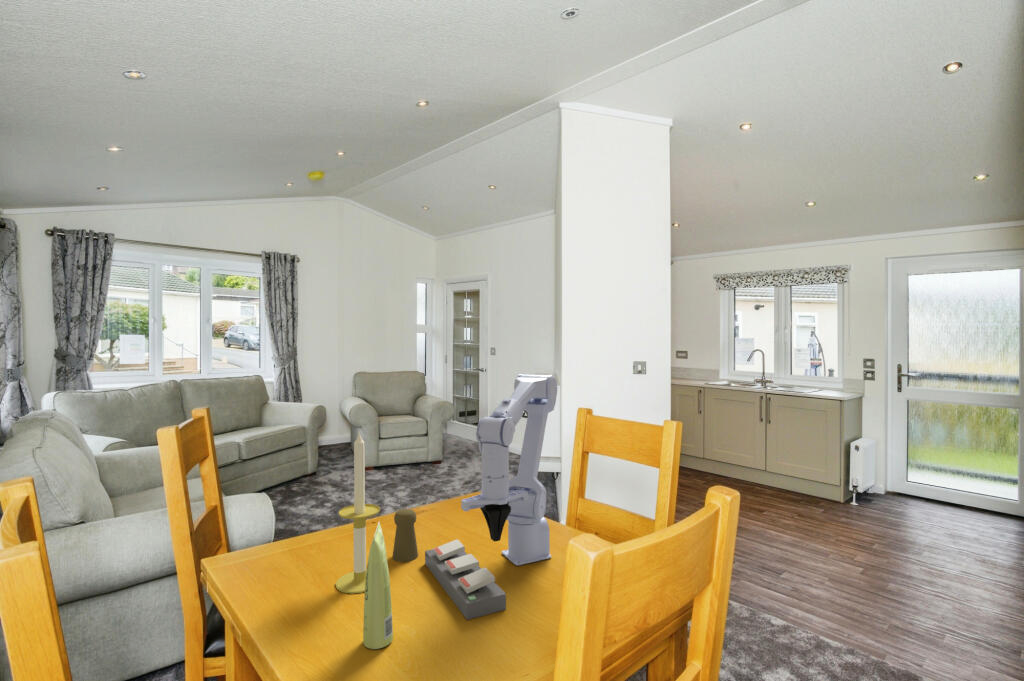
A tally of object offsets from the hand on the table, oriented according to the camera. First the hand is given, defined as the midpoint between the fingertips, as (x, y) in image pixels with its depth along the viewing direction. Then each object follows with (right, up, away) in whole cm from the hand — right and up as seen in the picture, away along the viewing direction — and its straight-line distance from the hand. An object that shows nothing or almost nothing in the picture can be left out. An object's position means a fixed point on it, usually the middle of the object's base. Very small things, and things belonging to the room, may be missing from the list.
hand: (495, 539), depth 106 cm
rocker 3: (-4, -6, -6) cm, 9 cm away
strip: (-7, -10, +1) cm, 12 cm away
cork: (-22, -10, +15) cm, 28 cm away
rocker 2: (-7, -6, +1) cm, 9 cm away
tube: (-20, -10, -19) cm, 29 cm away
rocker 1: (-11, -6, +8) cm, 14 cm away
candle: (-29, -10, +2) cm, 31 cm away
